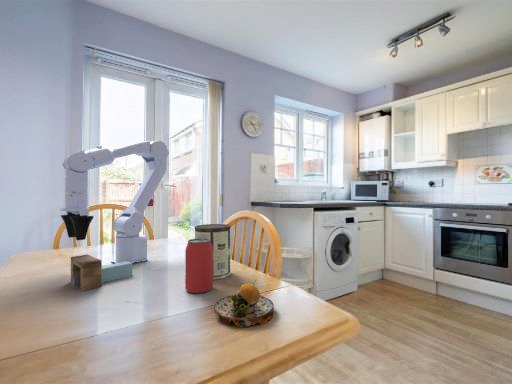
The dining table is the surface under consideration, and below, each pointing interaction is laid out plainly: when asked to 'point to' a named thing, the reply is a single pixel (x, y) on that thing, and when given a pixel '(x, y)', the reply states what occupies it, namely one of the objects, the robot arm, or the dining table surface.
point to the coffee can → (217, 246)
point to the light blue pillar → (109, 273)
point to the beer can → (199, 266)
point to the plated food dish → (245, 307)
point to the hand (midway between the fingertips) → (76, 238)
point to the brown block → (87, 271)
